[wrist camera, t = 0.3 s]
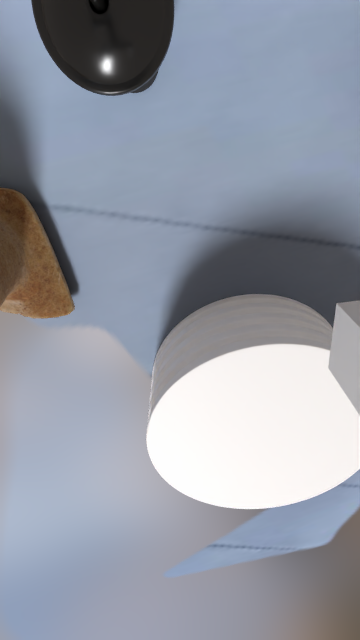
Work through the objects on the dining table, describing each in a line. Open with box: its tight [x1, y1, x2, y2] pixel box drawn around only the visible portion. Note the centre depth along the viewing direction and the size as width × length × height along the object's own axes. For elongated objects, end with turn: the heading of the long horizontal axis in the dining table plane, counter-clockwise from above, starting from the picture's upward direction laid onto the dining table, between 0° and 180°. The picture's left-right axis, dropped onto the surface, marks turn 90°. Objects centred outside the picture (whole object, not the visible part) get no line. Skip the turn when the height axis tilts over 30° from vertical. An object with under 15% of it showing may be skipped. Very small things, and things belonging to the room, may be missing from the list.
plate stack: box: [146, 294, 360, 509], centre depth 43 cm, size 28×28×12 cm
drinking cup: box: [31, 0, 174, 96], centre depth 20 cm, size 8×8×20 cm
